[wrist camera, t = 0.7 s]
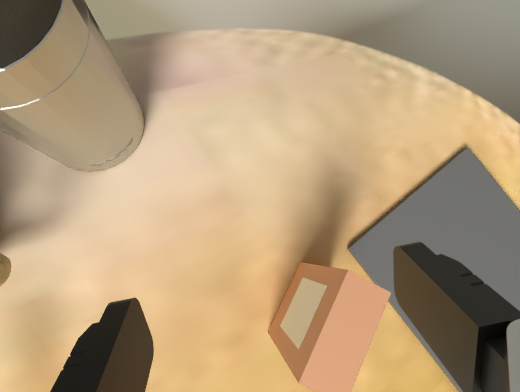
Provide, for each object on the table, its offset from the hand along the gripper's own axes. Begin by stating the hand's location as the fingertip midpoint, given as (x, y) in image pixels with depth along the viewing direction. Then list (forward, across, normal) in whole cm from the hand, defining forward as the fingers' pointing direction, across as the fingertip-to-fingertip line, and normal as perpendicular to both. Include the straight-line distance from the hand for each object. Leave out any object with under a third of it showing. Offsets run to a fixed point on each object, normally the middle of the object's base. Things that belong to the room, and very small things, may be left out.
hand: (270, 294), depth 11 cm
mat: (+18, -21, +17) cm, 32 cm away
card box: (+17, -3, +15) cm, 23 cm away
